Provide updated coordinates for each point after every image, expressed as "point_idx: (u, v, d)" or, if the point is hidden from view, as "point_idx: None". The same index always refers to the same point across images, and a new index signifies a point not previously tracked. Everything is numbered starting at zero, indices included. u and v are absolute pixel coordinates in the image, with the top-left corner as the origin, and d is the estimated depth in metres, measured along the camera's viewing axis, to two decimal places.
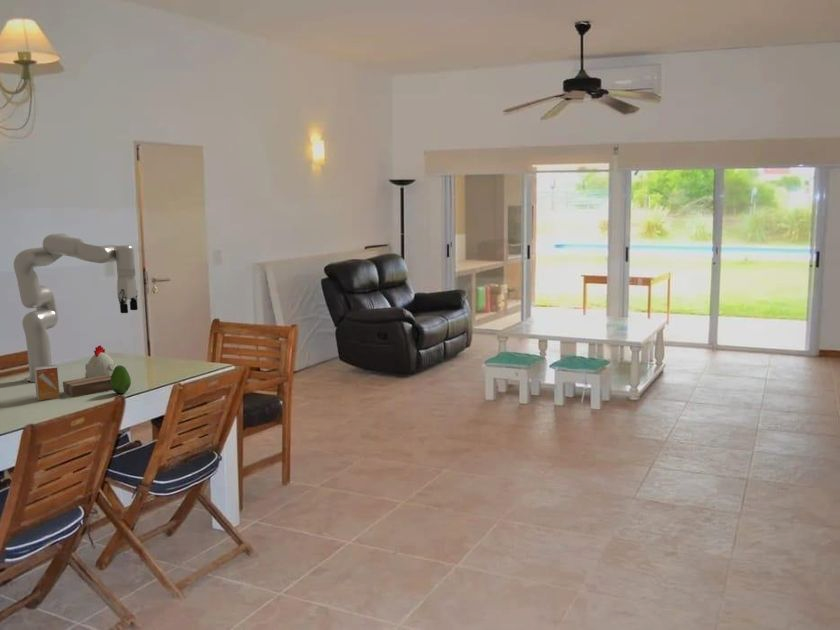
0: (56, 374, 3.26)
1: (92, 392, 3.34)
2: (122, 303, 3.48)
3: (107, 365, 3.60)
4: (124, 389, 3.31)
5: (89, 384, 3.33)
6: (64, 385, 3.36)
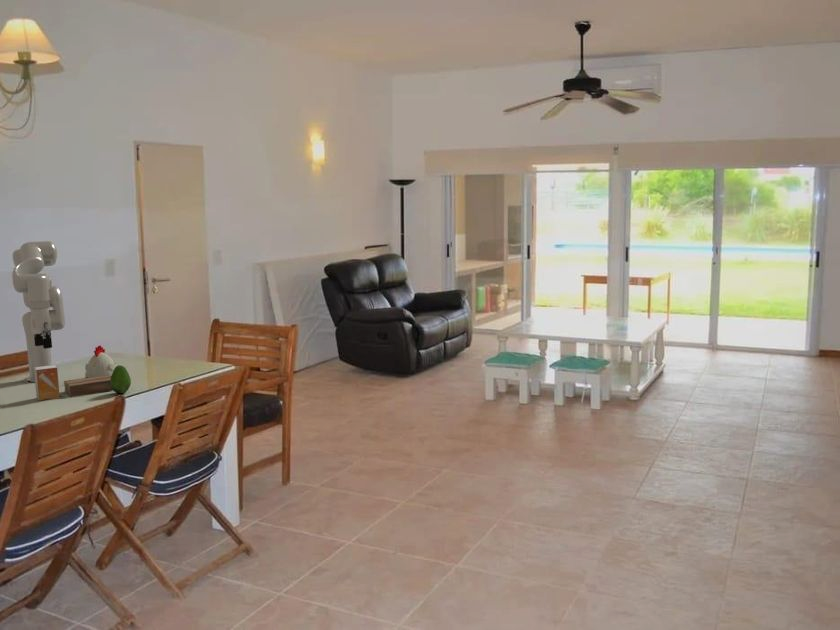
0: (56, 374, 3.26)
1: (90, 392, 3.33)
2: (48, 337, 3.20)
3: (107, 365, 3.60)
4: (124, 389, 3.31)
5: (87, 384, 3.32)
6: (65, 384, 3.37)
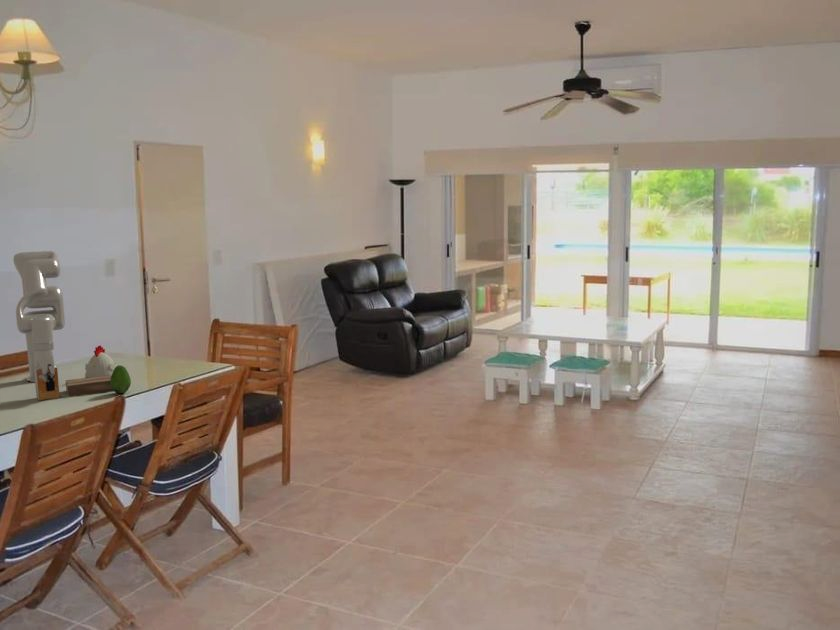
0: (56, 374, 3.26)
1: (88, 392, 3.33)
2: (51, 380, 3.23)
3: (107, 365, 3.60)
4: (124, 389, 3.31)
5: (85, 384, 3.32)
6: (66, 384, 3.38)
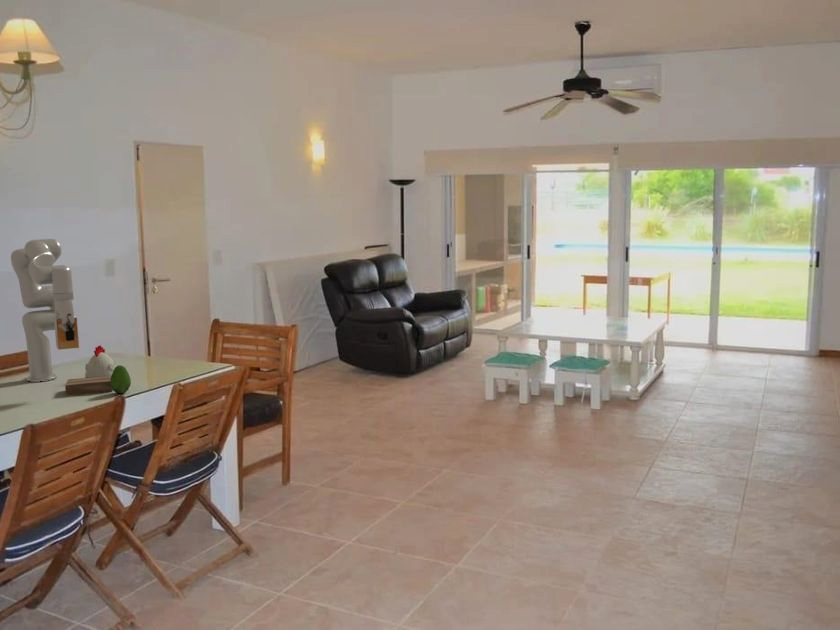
0: (75, 324, 3.29)
1: (85, 393, 3.33)
2: (71, 330, 3.27)
3: (107, 365, 3.60)
4: (124, 389, 3.31)
5: (82, 384, 3.32)
6: None
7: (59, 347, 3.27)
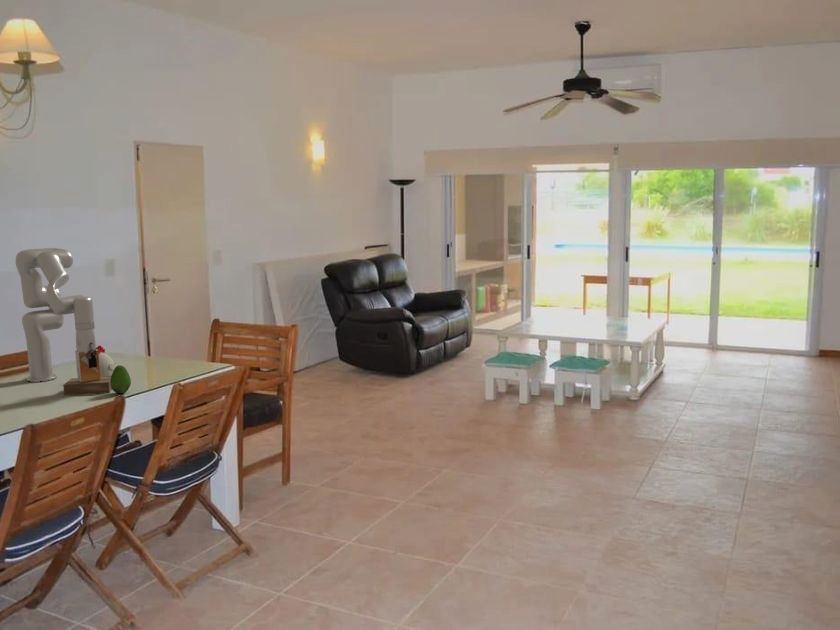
0: (97, 357, 3.37)
1: (83, 393, 3.33)
2: (93, 357, 3.33)
3: (107, 365, 3.60)
4: (124, 389, 3.31)
5: (80, 385, 3.32)
6: None
7: (82, 380, 3.34)
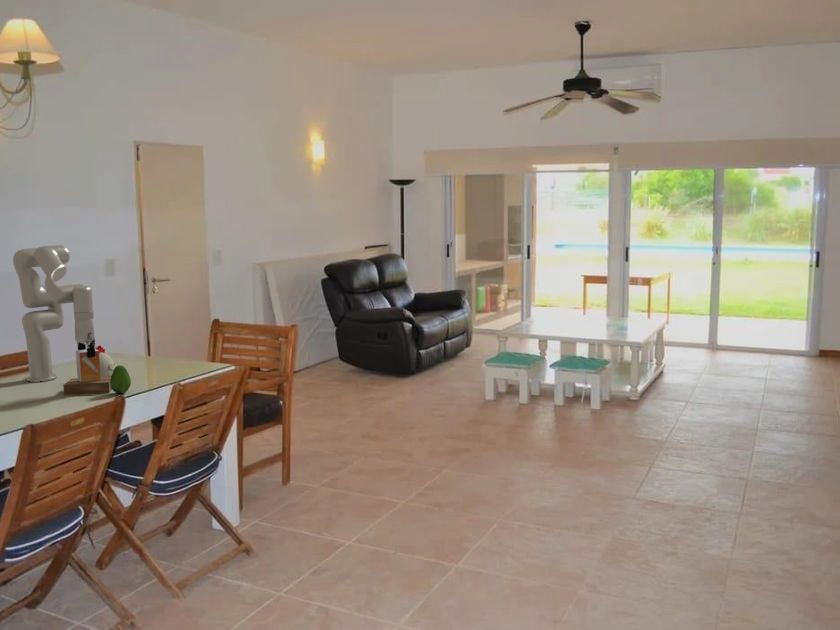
0: (98, 357, 3.37)
1: (83, 393, 3.33)
2: (92, 347, 3.32)
3: (107, 365, 3.60)
4: (124, 389, 3.31)
5: (80, 385, 3.32)
6: None
7: (82, 380, 3.34)
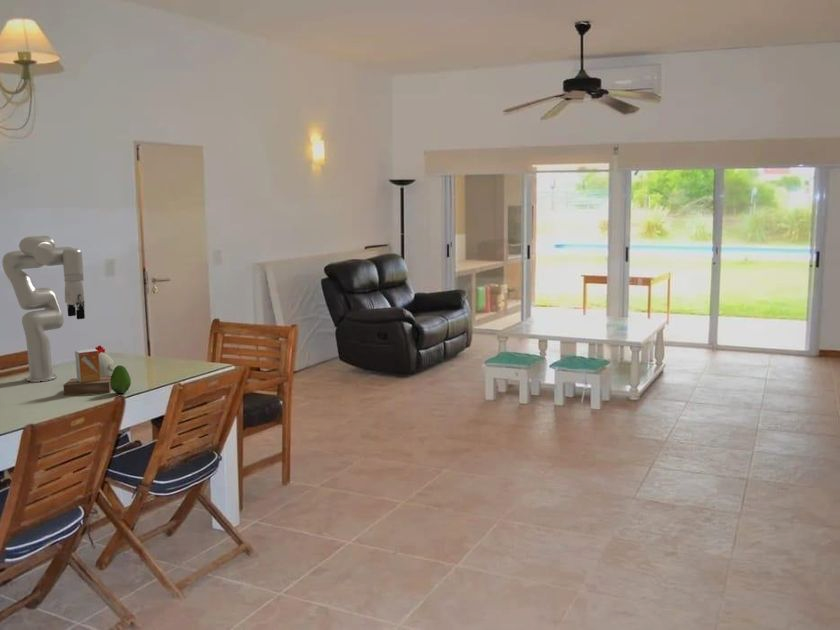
0: (97, 357, 3.37)
1: (83, 393, 3.33)
2: (81, 309, 3.35)
3: (107, 365, 3.60)
4: (124, 389, 3.31)
5: (80, 385, 3.32)
6: None
7: (82, 380, 3.34)
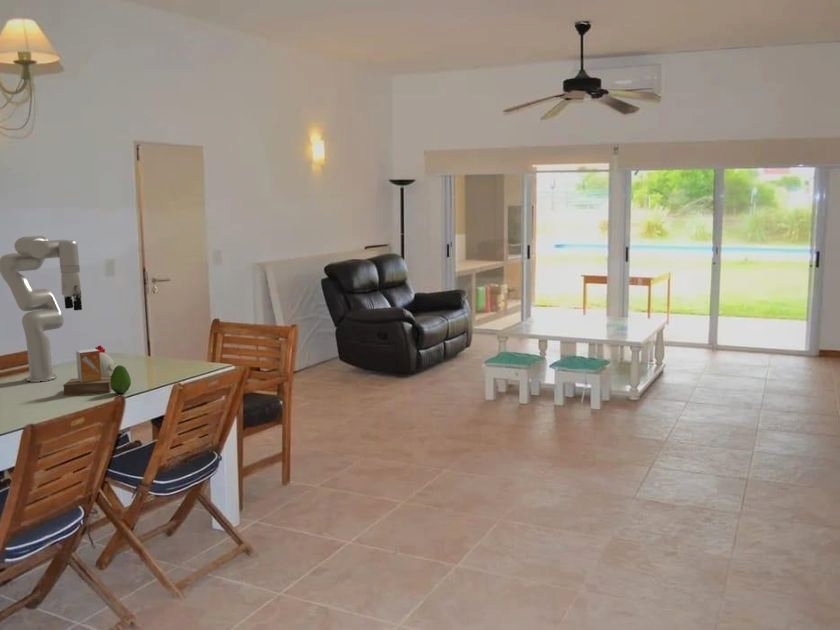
0: (98, 357, 3.37)
1: (83, 393, 3.33)
2: (78, 300, 3.37)
3: (107, 365, 3.60)
4: (124, 389, 3.31)
5: (80, 385, 3.32)
6: None
7: (83, 380, 3.34)
